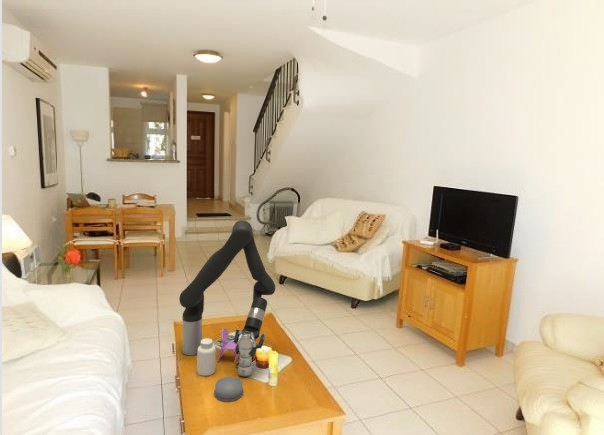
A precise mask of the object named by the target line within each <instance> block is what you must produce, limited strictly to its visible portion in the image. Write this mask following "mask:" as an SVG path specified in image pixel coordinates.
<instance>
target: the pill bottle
mask: <svg viewBox="0 0 604 435" xmlns="http://www.w3.org/2000/svg"><path fill="white" fill-rule="evenodd" d="M213 342H214V341H213V339H212V338H207V337H206V338H202V340H201V345H200V346H199V347H198V350H197V354H196V355H197V356H196V357H197V361H196V362H197V364H196V365H197V366H196V367H197V368H196V370H197V372H196V373H197V374H198V375H199V376H202V377H203V376H204V377H208V376H211V375H213V374H214V373H215V372H216V353H217V352H216V350H217V349H216V347H215V345H214V344H213Z"/></svg>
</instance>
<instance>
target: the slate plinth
mask: <svg viewBox="0 0 604 435" xmlns="http://www.w3.org/2000/svg"><path fill="white" fill-rule="evenodd" d="M243 384H244V383H243V381H242V380H241V378H239V377H235V376H224V377H222V378H220V379H218V380H217V381H216V382H215V385H214V392H213V393H214V394H213V395H214V397H215V399H216V400H218V401H220V402H225V403H231V402H235V401H237V400H239V399H240V398H242V397H243V396H244V387H243Z"/></svg>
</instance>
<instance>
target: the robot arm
mask: <svg viewBox="0 0 604 435" xmlns="http://www.w3.org/2000/svg"><path fill="white" fill-rule="evenodd" d="M256 244H257V243H256V242H255V237H254V233H253V227H252V225H251V223H250V222H248V221H247V220H244V219H241V220H238V221H236V222H235V223H234V225H233V226H232V229H231V234H230V235H229V237H228V239H227V240H226V242H225V243H224V245H223V246H222V247H221V248H220V249H218V250H216V251H215V252H214V253H213V254H211V256H210V257H209V258H208V259H207V261H206V262H205V263H204V264H203V266H202V267H201V269H200V270H199V271H198V273H197V274H196V276H195V278H194V279H192V281H191V282H190V283H189V285H187V287H186V288H184V290H182V291H181V293H180V294H179V298H178V299H179V303H180V305H181V307H183V308H184V311H183V312H182V353H183V354H184V355H187V356H195V355H197V350H198V347H199V346H200V345H201V340H202V339H203V314H204V309H205V308H204V307H205V293H204V292H205V291H206V290H207V289H208V288H210V286H212V285H213V284H214V283H215V282H216V281H217V280H219V278H220V277H221V276H222V275H223V273H224V272H225V271H226V270H227V268H228V267H229V266H230V265H231V263H232V262H233V261H234V259H235V257H236V256H238V254H239V253H240V252H241V251H242V250H243V254H244V257H245V261H246V265H247V267H248V270H249V273H250V275H251V278H252V279H253V280H254V281H255V283H254V285H253V291H252V292H253V294H252V303H251V306H250V309H249V311H248V314H247V317H246V320H245V323H244V326H243V329H242V330H239V329H236V330H235V334H234V339H233V342H234V343H235V344H237V346H236V349H235V352H236V354H238V355H239V346H238V344H239V341H240V340H241V339H242V337H240V336H242V332H245V331H247V332H250V339H251V340H252V342H253V348H252V351H251V354H250V356H251V357H252V358H254V357H255V355H256V352H257V349H262V348H263V344H264V342H265V339H266V335H265V334H264V333H260V332H261V329H262V325H263V322H264V318H265V314H266V310H267V306H268V300H267V299H266V298H264V297H262V296H272V295H273V294H275V292H276V284H275V281H274V280H273V278H272V277H271V276H270V275H269V274H268V272H267V271H266V268H265V265H264V263H263V260H262V258H261V256H260V252H259V251H258V248H257V245H256ZM258 338H259V341H258V342H257V339H258ZM257 343H258V344H257ZM235 352H234V353H235Z"/></svg>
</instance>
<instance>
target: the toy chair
mask: <svg viewBox="0 0 604 435" xmlns="http://www.w3.org/2000/svg"><path fill="white" fill-rule="evenodd" d="M228 338H229V330H228V328H222V330H221V341H222V342H221V343H222V345H221V346H220V350H219V355H218V358H217V362H219V361H220V360H221V358H222V356H223V352H224V351H232V352H234V355H235V356H234V361H233V364H235V363H236V362H237V360H238V358H239V354H236V352H235V349H236V346H237V344H235V343H234V341H227V340H229V339H228Z"/></svg>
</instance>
